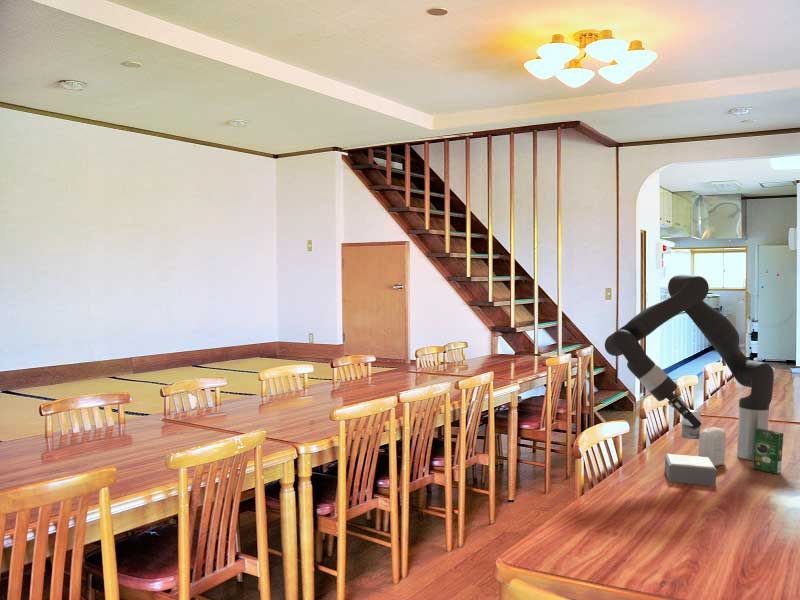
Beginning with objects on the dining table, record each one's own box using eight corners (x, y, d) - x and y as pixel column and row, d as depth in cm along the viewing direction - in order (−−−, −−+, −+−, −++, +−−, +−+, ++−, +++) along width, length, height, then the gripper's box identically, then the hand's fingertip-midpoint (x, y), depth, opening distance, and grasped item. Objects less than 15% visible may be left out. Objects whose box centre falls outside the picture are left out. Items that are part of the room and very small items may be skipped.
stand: (664, 470, 222) (665, 453, 222) (708, 474, 219) (709, 456, 218) (668, 481, 210) (669, 463, 209) (715, 486, 206) (716, 467, 206)
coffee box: (782, 473, 221) (784, 432, 221) (777, 475, 220) (779, 433, 219) (757, 467, 228) (759, 427, 227) (752, 468, 226) (754, 428, 226)
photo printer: (714, 461, 235) (715, 424, 234) (726, 464, 231) (728, 427, 231) (696, 465, 229) (697, 428, 228) (708, 468, 225) (709, 430, 225)
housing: (680, 434, 217) (681, 409, 216) (698, 436, 215) (699, 410, 215) (682, 438, 212) (683, 412, 212) (700, 439, 211) (701, 413, 210)
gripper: (669, 377, 208) (711, 421, 205) (664, 371, 222) (704, 412, 219) (649, 394, 210) (691, 437, 207) (646, 386, 223) (685, 427, 221)
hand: (697, 424), depth 213 cm, fingers closed on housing, 5 cm apart
